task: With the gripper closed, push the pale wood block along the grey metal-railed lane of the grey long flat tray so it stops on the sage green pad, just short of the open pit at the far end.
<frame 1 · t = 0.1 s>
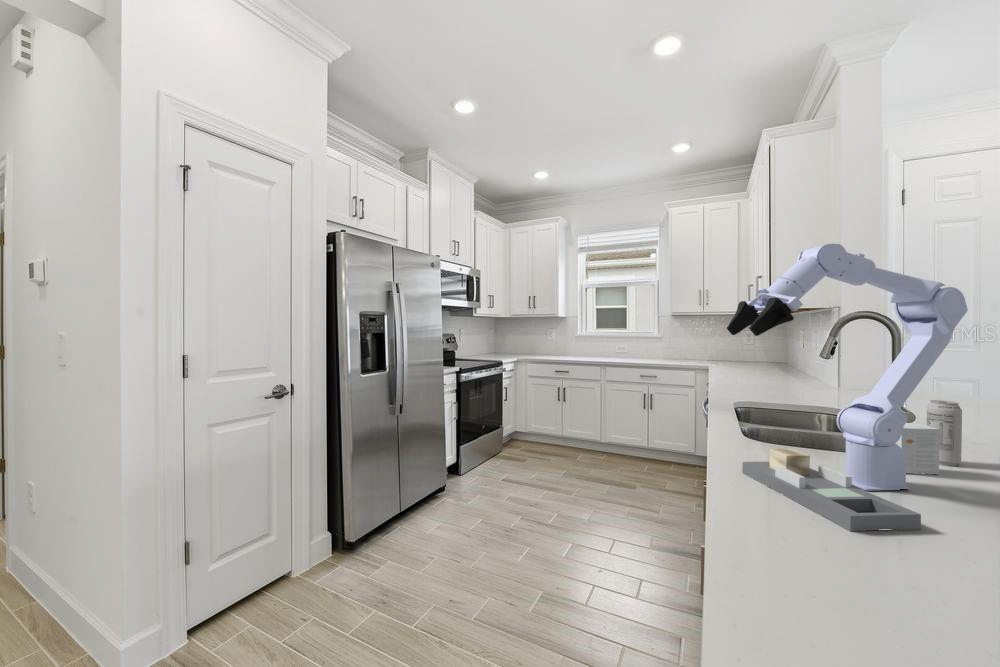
hand: (741, 331, 89), 32 cm above the countertop, tool tilted 50°, fingers open, 7 cm apart
block: (789, 471, 91), point 2 cm above the countertop, touching grey long flat tray
grey long flat tray: (816, 496, 83), on the countertop
small box: (909, 471, 99), on the countertop
energy drink can: (943, 463, 105), on the countertop
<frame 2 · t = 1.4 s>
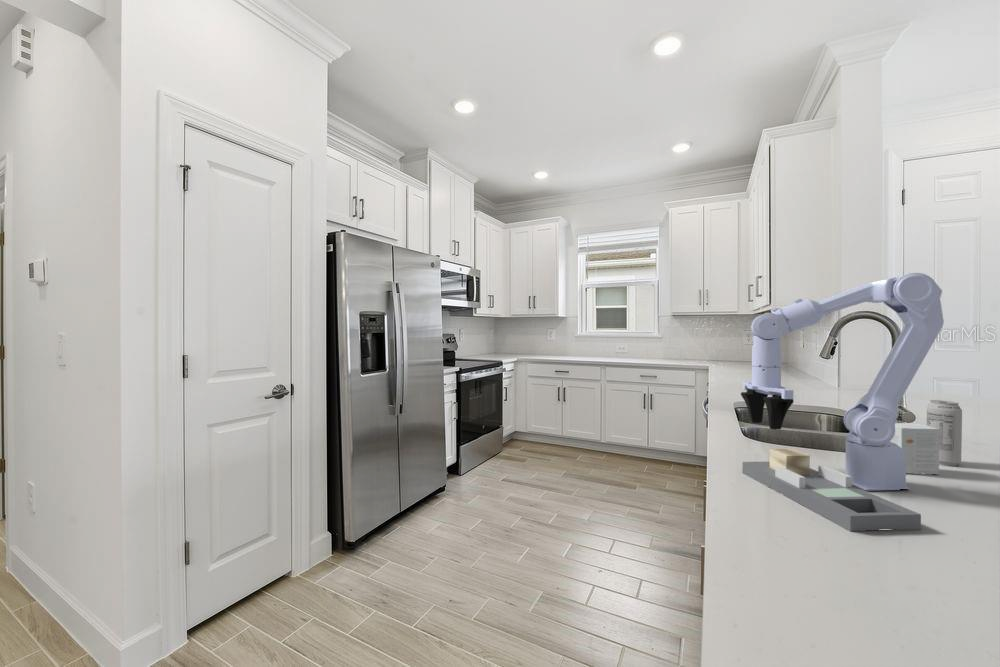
hand: (765, 425, 98), 10 cm above the countertop, tool pointing down, fingers open, 6 cm apart
nothing on the countertop moved.
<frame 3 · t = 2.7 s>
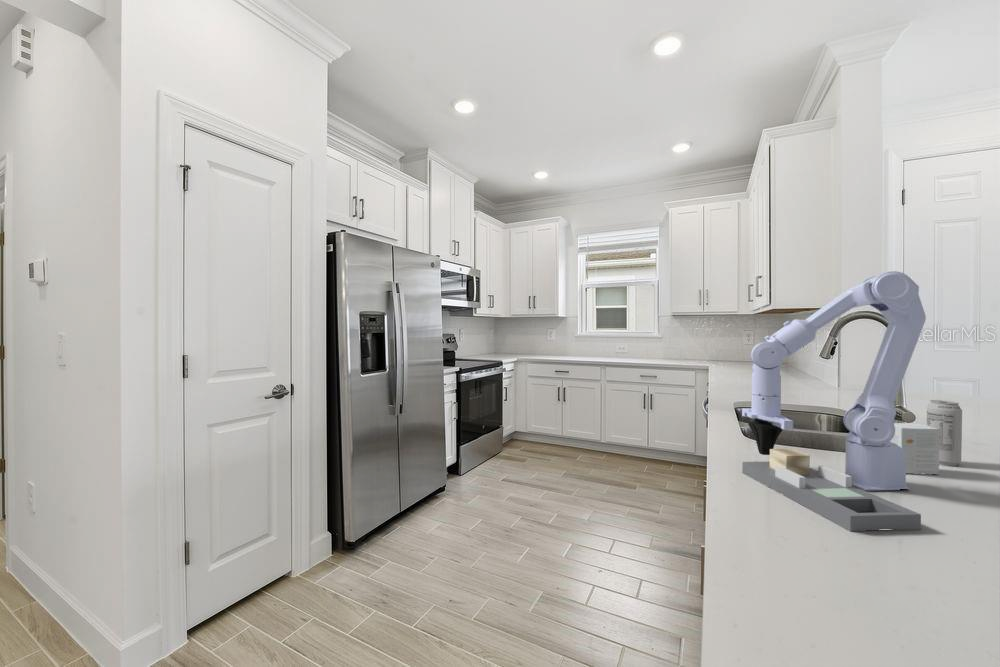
hand: (765, 454, 98), 4 cm above the countertop, tool pointing down, fingers closed
nothing on the countertop moved.
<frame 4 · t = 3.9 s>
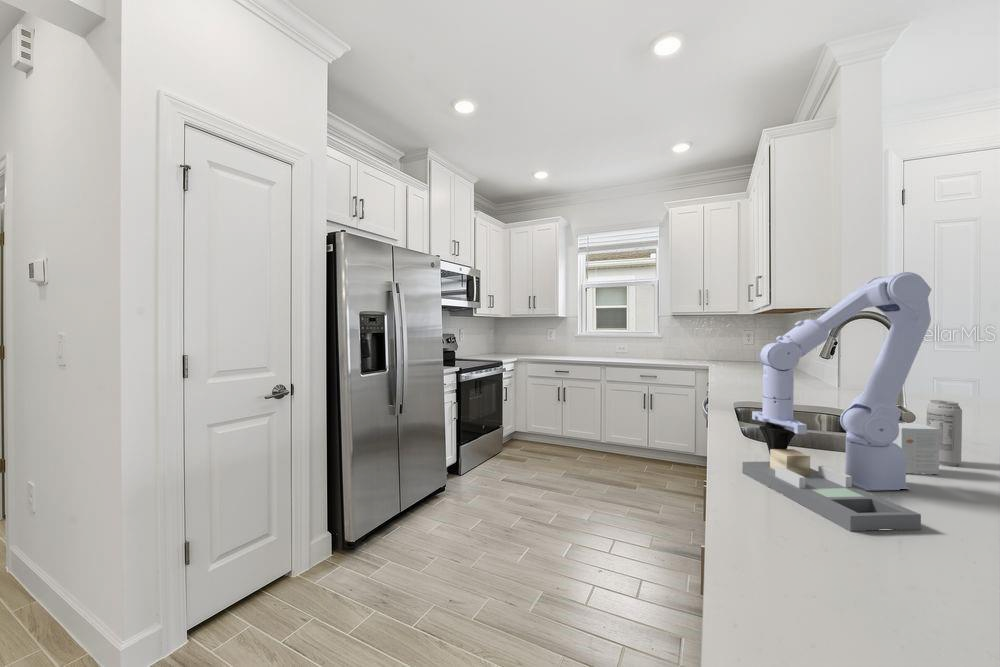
hand: (777, 459, 94), 4 cm above the countertop, tool pointing down, fingers closed
block: (789, 471, 91), point 3 cm above the countertop, touching gripper
everything else where it was.
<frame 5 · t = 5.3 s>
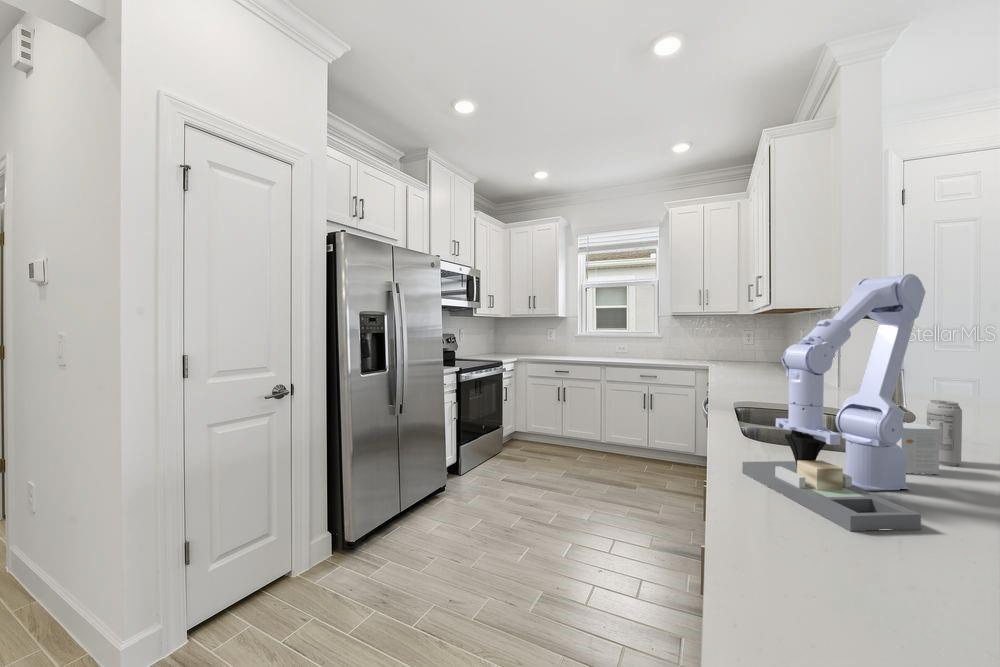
hand: (804, 471, 86), 4 cm above the countertop, tool pointing down, fingers closed
block: (819, 485, 83), point 3 cm above the countertop, touching gripper
everything else where it was.
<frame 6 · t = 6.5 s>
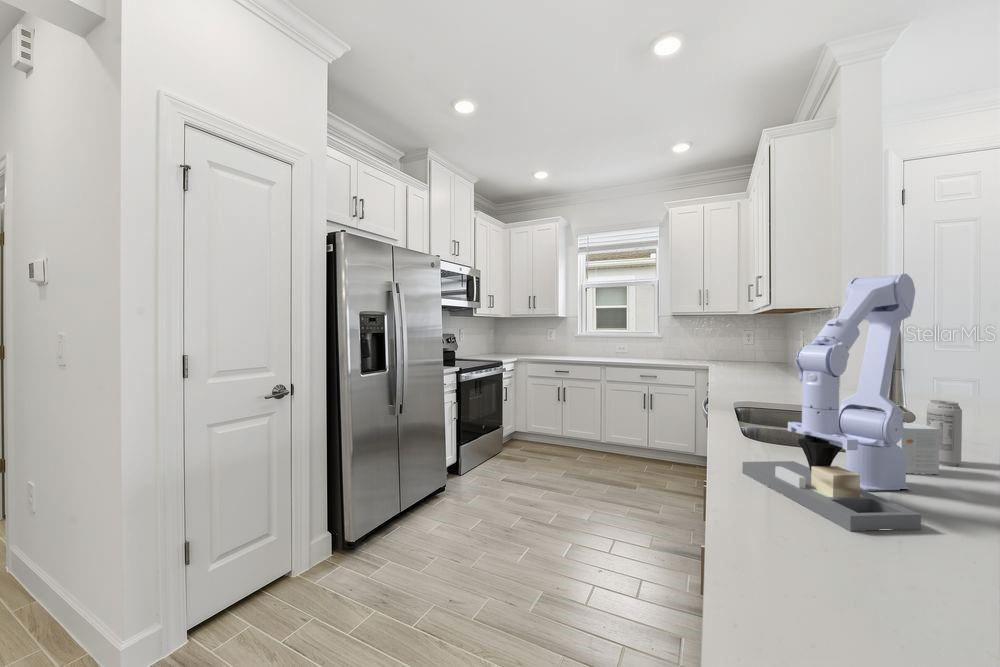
hand: (819, 477, 83), 4 cm above the countertop, tool pointing down, fingers closed
block: (834, 492, 79), point 3 cm above the countertop, touching grey long flat tray, gripper
everything else where it was.
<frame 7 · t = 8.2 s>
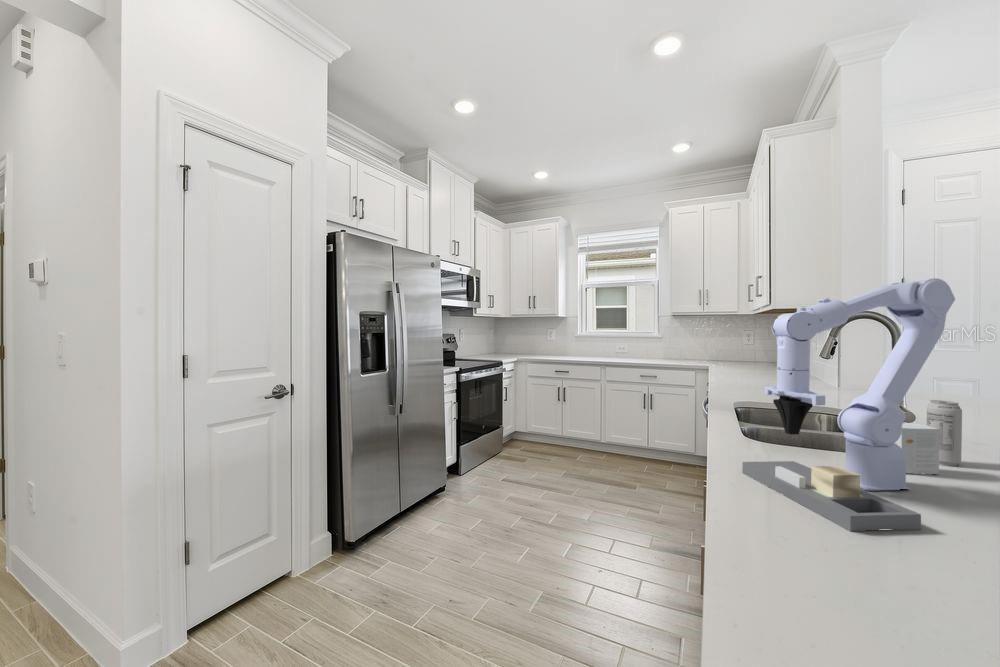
hand: (792, 433, 91), 10 cm above the countertop, tool pointing down, fingers closed
block: (834, 492, 79), point 3 cm above the countertop, touching grey long flat tray
everything else where it was.
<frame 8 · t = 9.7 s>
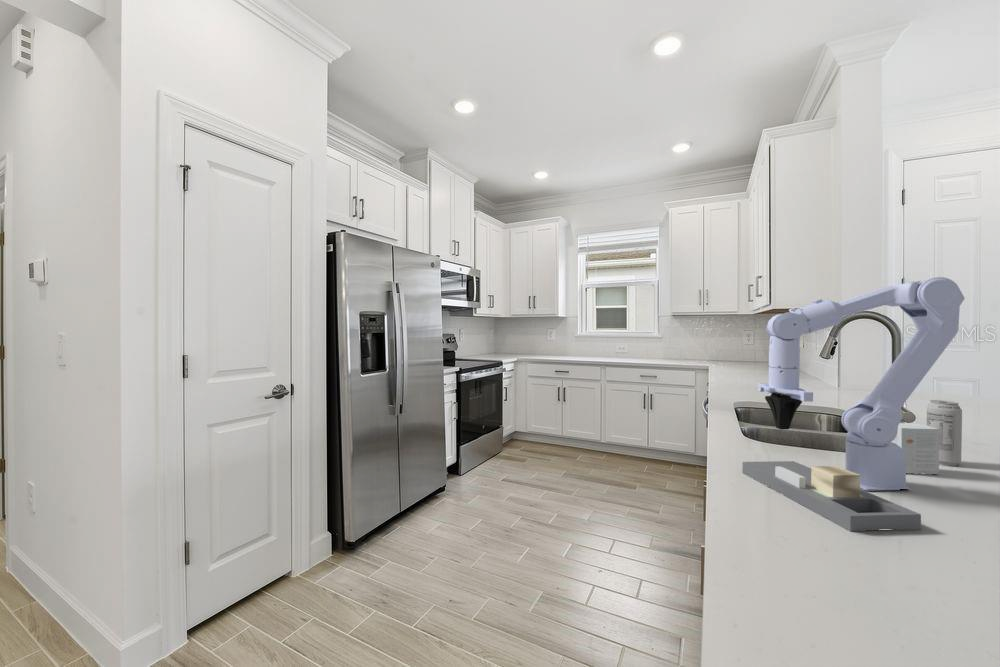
hand: (782, 428, 95), 10 cm above the countertop, tool pointing down, fingers closed
nothing on the countertop moved.
at the end: block 0.3 cm from the target spot on the grey long flat tray, point 2.5 cm above the grey long flat tray's base; block tilted 0°; the gripper is holding nothing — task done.
